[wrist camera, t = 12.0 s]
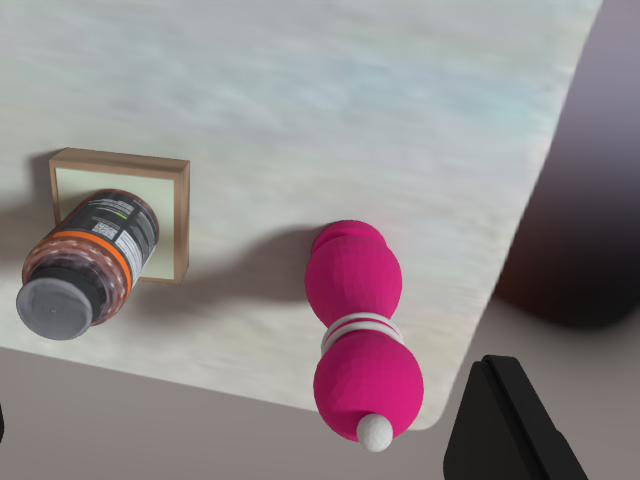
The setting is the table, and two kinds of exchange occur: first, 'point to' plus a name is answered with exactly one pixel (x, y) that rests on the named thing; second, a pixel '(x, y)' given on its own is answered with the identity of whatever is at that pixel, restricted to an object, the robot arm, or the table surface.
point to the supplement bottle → (87, 265)
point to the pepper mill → (361, 337)
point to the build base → (141, 180)
